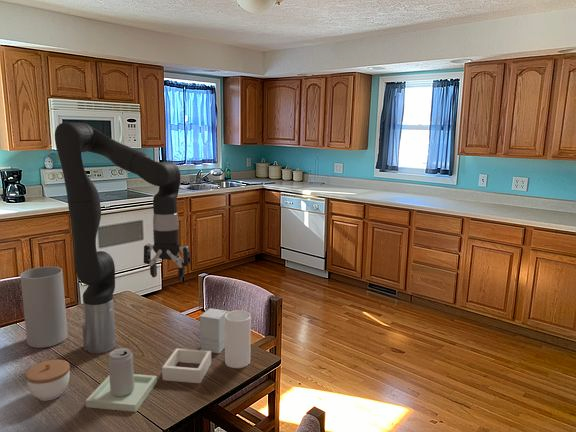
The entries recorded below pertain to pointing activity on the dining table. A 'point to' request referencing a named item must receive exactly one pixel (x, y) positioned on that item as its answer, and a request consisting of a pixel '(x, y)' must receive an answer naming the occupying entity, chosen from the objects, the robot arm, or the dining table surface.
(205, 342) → the supplement box
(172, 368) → the holder
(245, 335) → the cup
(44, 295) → the cylinder vase
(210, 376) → the dining table surface
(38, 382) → the lidded jar
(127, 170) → the robot arm
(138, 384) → the tray
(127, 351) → the beverage can
